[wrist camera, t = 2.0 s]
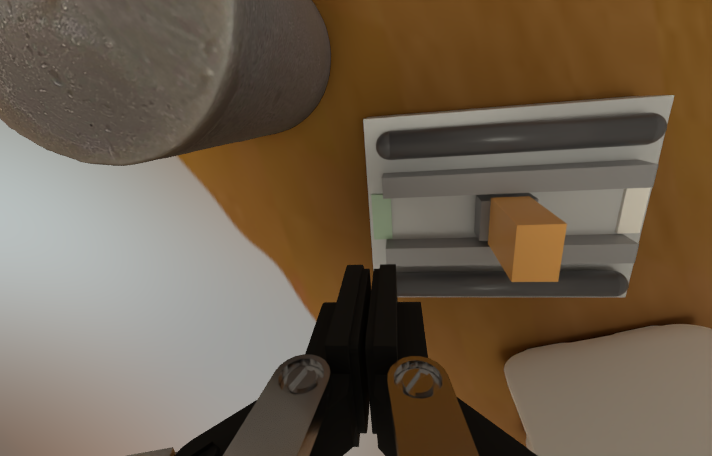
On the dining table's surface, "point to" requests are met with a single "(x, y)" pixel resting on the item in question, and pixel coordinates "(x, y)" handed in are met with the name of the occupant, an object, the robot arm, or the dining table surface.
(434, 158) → the grey slotted tray
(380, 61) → the dining table surface
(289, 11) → the pillar candle
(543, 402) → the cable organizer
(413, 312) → the robot arm
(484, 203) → the lever
